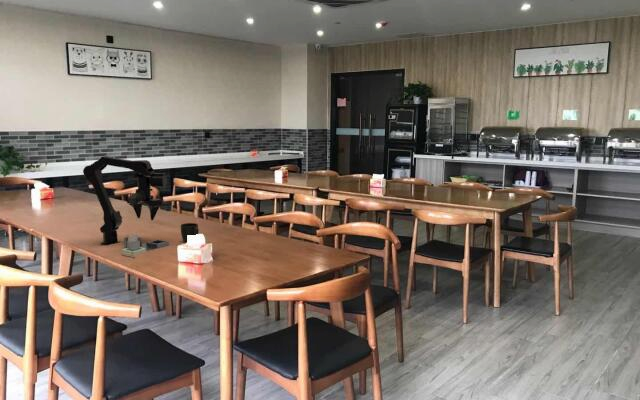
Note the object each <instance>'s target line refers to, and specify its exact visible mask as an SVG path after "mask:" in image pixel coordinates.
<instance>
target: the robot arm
mask: <svg viewBox="0 0 640 400" xmlns="http://www.w3.org/2000/svg"><path fill="white" fill-rule="evenodd" d="M107 166H112V167H116V168H117V167H118V168H123V169H129V170H131V171H133V172H135V174H134V175H133V176H132V178H135V179H136V178H137V189H136V188H135V192H134V193H133V194H131V195H129V196H127V199H126V204H129V206H131V207H132V208H133V210H134V213H135V214H136V217H137V219H140V218H141V216H142V215H141V214H142V209H143V208H142V207H143V204H146V205H148V206H147V208H148V209H149V214H150V215H149V217H150V221H154V219H155V218H156V215H157V213H158V211H159V209H160V208H161V207H162V206H164V204H163V203H164V201H163V199H162V198H161V199H159V198H154V197H152V195H151V194H152V193H151V192H153V188H166V187H167V184H168V179H167V177H166V174H165V172H161V173H159V172H156V171H155V170H154V168H153V167H152V164H151V162H150V161H149V160H145V159H141V160H137V159H136V160H131V159H125V158H118V157H113V156H109V155H105V156H101V157H100V158H99V159H97V160H96V161H94V162H92V163H91V164H89V165H85V166H84V168H83V169H82V173H83V175H84V177H85V179H86V180H87V181H88V182H89V183H90V184H91V185H92V187H93V191H94V192H95V195H96V197H97V199H98V202H99V204H100V207H101V209H102V211H103V223H104V224H103V225H102V226H101V227H100V228H99V230H100V232H101V233H102V239H103V241H101V242H100V244H101V245H107V246H111V245H115V244H119V243H121V242H120V241H118V230H119V228H120V226H121V225H122V223H123V217H122V215H121V212H120V210H117V211H116V210H115V208H114V206H113V204H112V201H111V199H110V197H109V195H108V192H107V190H106V187H105V185H104V182H103V172H102V171H104V169H106V168H107ZM151 187H152V188H151Z"/></svg>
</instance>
